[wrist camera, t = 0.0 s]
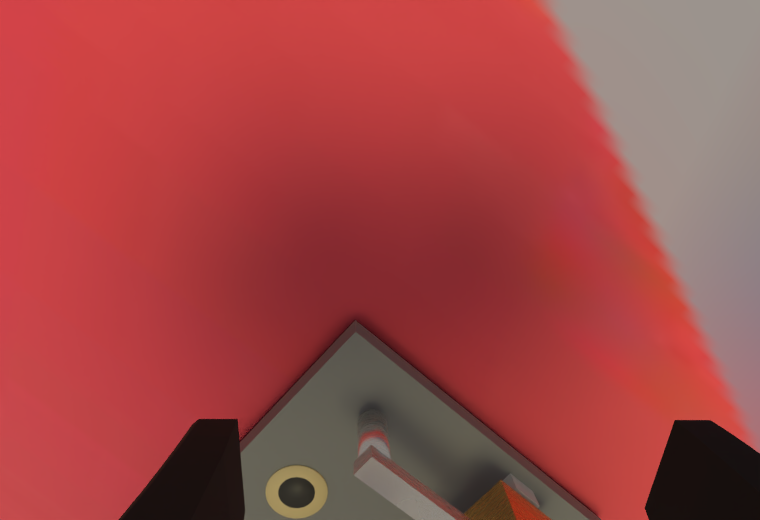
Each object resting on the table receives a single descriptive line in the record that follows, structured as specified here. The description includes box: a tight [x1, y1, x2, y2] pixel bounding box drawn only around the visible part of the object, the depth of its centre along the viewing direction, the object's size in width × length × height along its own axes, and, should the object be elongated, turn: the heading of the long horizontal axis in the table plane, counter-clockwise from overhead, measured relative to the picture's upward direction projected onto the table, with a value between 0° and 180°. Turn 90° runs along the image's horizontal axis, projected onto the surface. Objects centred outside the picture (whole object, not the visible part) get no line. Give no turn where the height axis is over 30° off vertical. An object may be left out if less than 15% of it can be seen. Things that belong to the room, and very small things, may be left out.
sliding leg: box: [354, 409, 552, 520], centre depth 19 cm, size 3×8×3 cm, turn 48°
